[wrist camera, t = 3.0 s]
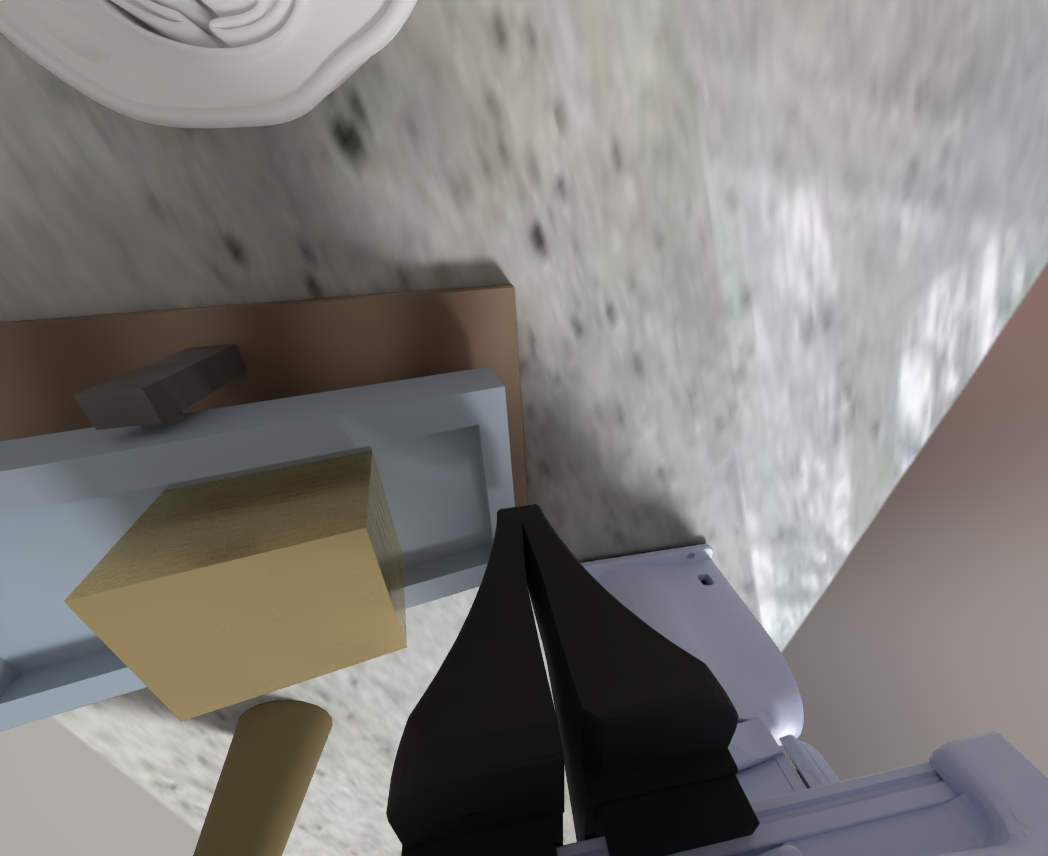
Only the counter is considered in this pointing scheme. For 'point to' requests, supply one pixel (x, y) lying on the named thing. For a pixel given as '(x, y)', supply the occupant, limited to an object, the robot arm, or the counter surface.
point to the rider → (252, 584)
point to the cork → (264, 779)
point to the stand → (251, 358)
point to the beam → (219, 453)
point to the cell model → (204, 53)
